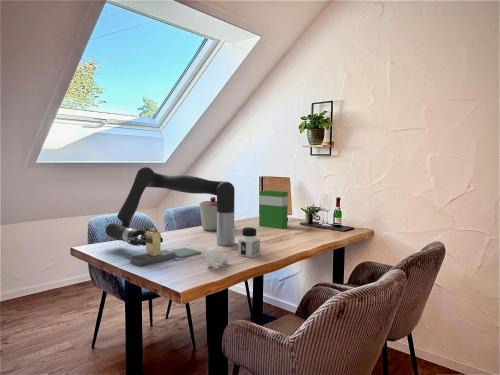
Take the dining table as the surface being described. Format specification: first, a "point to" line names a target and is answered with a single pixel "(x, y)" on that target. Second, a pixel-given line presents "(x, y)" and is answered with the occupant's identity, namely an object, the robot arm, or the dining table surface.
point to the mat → (185, 252)
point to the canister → (209, 214)
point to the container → (249, 243)
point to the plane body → (152, 258)
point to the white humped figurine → (215, 257)
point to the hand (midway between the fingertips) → (153, 241)
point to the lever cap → (153, 243)
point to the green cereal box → (273, 209)
